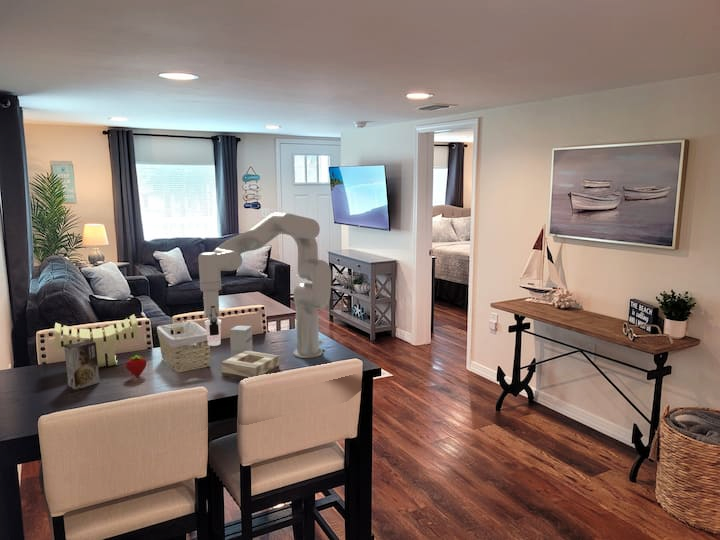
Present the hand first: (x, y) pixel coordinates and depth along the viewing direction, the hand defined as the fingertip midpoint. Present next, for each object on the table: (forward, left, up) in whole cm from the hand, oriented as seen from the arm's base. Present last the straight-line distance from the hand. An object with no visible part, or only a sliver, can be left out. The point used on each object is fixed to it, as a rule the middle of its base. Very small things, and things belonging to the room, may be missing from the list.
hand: (213, 332), depth 200 cm
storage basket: (-10, -25, -19) cm, 33 cm away
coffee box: (+24, -42, -19) cm, 52 cm away
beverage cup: (0, 0, -5) cm, 5 cm away
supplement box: (-28, -9, -19) cm, 35 cm away
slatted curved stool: (+6, -57, -19) cm, 60 cm away
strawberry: (+10, -30, -19) cm, 37 cm away
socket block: (-13, +7, -19) cm, 24 cm away
